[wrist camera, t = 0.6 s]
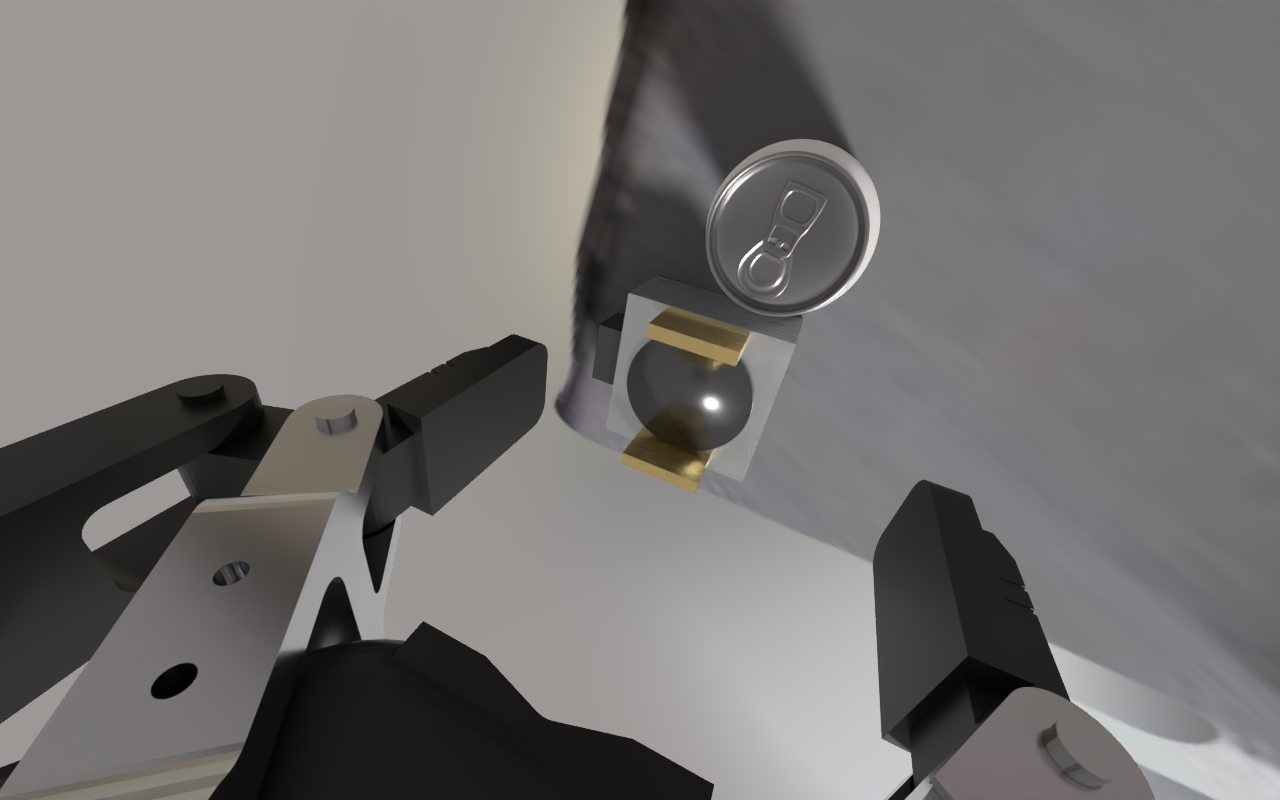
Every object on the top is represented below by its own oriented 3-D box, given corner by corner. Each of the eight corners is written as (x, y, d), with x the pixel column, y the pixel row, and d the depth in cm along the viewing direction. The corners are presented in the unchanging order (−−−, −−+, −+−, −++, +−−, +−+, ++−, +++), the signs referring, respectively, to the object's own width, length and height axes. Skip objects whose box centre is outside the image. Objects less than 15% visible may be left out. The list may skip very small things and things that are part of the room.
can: (730, 239, 28) (668, 281, 18) (784, 125, 25) (743, 102, 15) (825, 286, 27) (814, 357, 18) (896, 176, 24) (931, 186, 14)
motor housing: (630, 267, 32) (573, 295, 25) (803, 318, 29) (790, 365, 22) (610, 390, 37) (559, 440, 30) (755, 443, 34) (733, 511, 27)
